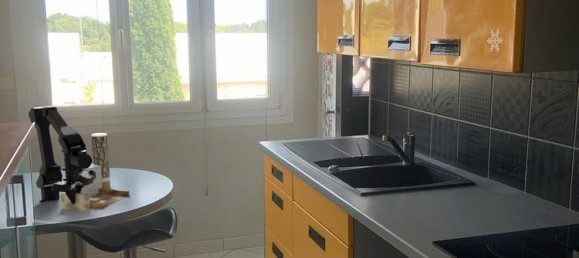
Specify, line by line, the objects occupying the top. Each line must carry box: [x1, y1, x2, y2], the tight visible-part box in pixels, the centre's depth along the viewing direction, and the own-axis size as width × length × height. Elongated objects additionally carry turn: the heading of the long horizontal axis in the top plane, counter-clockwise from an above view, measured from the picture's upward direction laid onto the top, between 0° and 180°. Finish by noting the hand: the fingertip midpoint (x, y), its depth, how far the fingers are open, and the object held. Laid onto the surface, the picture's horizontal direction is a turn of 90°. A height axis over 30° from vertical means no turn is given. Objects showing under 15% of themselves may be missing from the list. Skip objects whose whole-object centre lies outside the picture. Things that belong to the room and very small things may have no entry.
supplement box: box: [81, 163, 102, 196], centre depth 256 cm, size 7×7×13 cm
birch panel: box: [60, 192, 91, 212], centre depth 233 cm, size 12×2×7 cm, turn 73°
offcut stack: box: [89, 196, 109, 209], centre depth 238 cm, size 13×4×3 cm, turn 73°
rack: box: [90, 188, 130, 210], centre depth 245 cm, size 14×19×3 cm
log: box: [90, 132, 111, 189], centre depth 262 cm, size 7×7×25 cm
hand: (75, 203), depth 233 cm, fingers closed on birch panel, 2 cm apart
